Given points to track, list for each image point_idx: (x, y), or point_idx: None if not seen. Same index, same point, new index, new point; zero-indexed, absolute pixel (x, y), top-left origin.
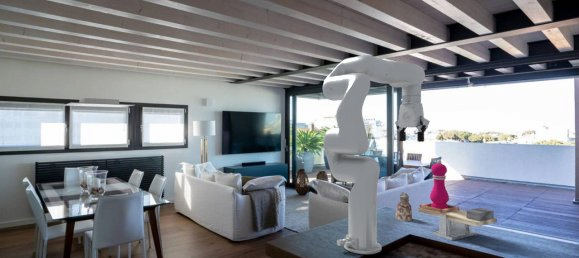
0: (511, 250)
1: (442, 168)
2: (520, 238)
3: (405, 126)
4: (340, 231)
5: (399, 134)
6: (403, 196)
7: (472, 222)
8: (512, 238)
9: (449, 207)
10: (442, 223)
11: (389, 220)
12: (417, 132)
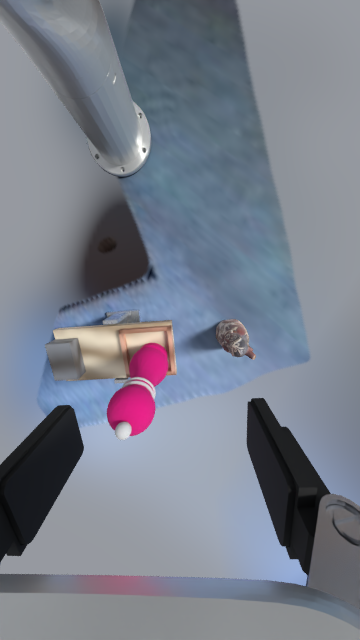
0: None
1: (108, 407)
2: (89, 399)
3: (128, 594)
4: (216, 157)
5: (293, 449)
6: (235, 342)
7: (60, 329)
8: (91, 391)
9: None
10: (115, 316)
11: (234, 301)
12: (7, 485)
